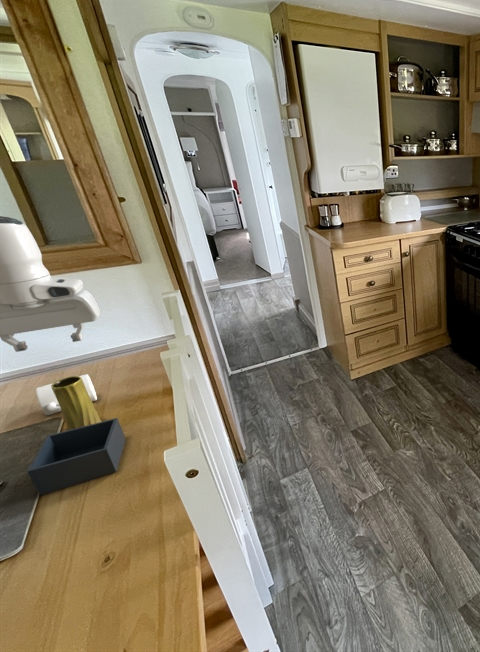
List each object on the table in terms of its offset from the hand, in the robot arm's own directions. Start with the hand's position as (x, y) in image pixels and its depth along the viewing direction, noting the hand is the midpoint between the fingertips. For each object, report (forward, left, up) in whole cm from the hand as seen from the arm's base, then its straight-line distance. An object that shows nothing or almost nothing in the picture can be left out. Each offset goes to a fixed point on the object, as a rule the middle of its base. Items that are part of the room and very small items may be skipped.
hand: (51, 345), depth 88 cm
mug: (-5, +12, -25) cm, 28 cm away
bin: (+3, -16, -24) cm, 29 cm away
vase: (0, 0, -25) cm, 25 cm away
